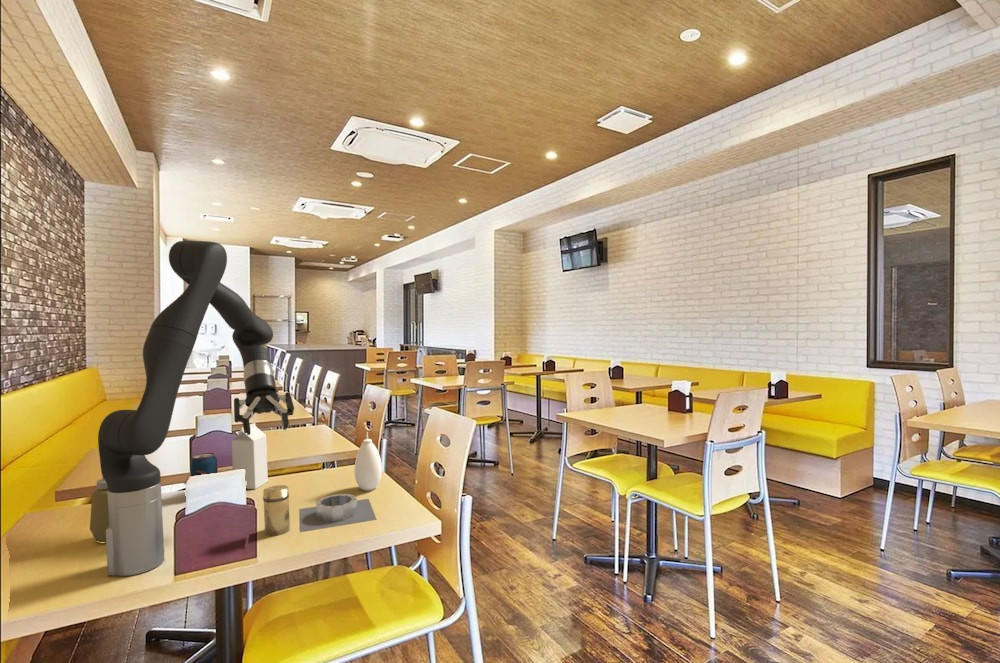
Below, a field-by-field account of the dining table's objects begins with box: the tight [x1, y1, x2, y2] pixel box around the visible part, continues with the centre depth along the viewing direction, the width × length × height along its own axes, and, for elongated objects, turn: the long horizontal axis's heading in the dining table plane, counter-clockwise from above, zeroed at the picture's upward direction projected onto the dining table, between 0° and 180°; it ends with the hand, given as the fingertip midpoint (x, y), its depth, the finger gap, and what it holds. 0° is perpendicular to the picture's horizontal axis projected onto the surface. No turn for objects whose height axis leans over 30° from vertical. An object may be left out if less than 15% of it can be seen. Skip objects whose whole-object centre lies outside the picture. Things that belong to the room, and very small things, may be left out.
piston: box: [262, 484, 291, 537], centre depth 124 cm, size 6×6×11 cm
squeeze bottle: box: [89, 476, 109, 542], centre depth 124 cm, size 8×8×18 cm
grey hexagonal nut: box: [315, 493, 357, 522], centre depth 134 cm, size 10×10×4 cm
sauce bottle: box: [354, 431, 383, 492], centre depth 153 cm, size 8×8×18 cm
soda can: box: [189, 452, 219, 477], centre depth 153 cm, size 7×7×12 cm
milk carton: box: [231, 422, 269, 490], centre depth 161 cm, size 7×7×19 cm
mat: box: [299, 498, 378, 533], centre depth 134 cm, size 18×16×1 cm
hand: (267, 430), depth 133 cm, fingers open, 8 cm apart
